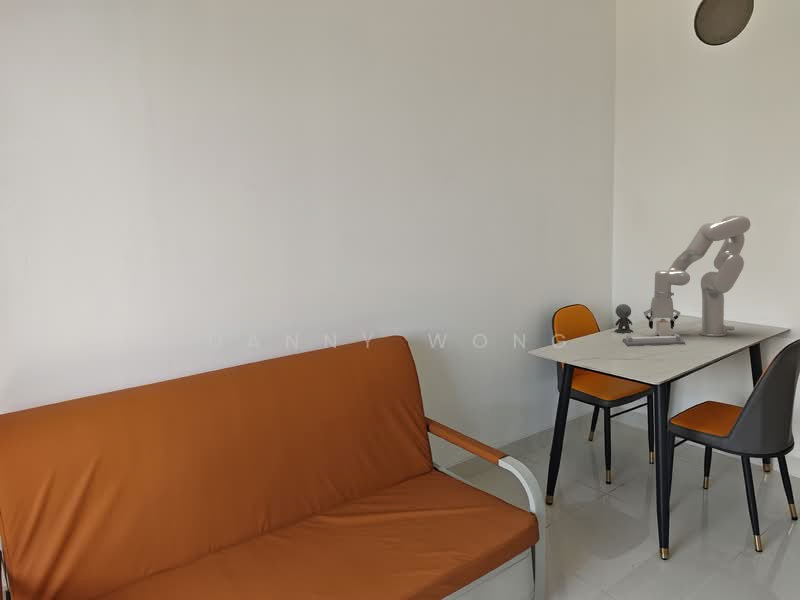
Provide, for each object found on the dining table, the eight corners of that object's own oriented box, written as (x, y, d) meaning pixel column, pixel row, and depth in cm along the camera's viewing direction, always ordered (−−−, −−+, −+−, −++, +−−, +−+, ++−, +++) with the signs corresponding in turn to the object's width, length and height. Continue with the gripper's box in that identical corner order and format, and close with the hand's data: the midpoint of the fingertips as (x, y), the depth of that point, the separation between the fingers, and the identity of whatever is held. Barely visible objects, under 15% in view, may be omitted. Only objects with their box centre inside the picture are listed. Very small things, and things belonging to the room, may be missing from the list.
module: (666, 334, 285) (666, 317, 283) (670, 338, 277) (670, 320, 276) (655, 334, 286) (655, 318, 284) (660, 338, 278) (660, 321, 277)
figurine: (629, 329, 302) (629, 302, 300) (635, 333, 293) (634, 305, 290) (613, 330, 303) (612, 303, 301) (618, 334, 293) (618, 306, 291)
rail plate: (677, 339, 274) (677, 332, 273) (685, 344, 263) (685, 337, 262) (622, 340, 278) (622, 334, 278) (627, 346, 268) (627, 339, 267)
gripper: (678, 293, 280) (677, 326, 283) (642, 294, 283) (641, 326, 286) (683, 296, 273) (681, 329, 276) (646, 296, 276) (645, 329, 279)
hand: (661, 328), depth 281 cm, fingers open, 9 cm apart
